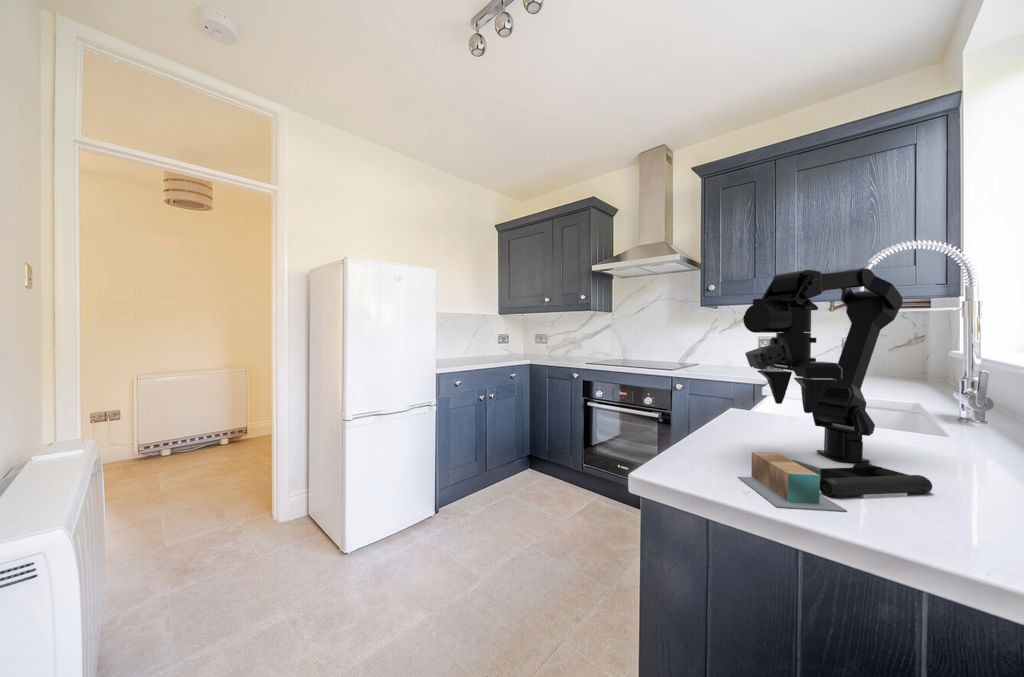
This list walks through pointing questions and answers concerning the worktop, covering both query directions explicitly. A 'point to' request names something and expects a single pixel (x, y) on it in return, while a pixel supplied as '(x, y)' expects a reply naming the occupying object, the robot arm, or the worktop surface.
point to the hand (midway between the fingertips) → (792, 408)
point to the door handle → (868, 481)
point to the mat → (782, 503)
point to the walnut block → (786, 478)
